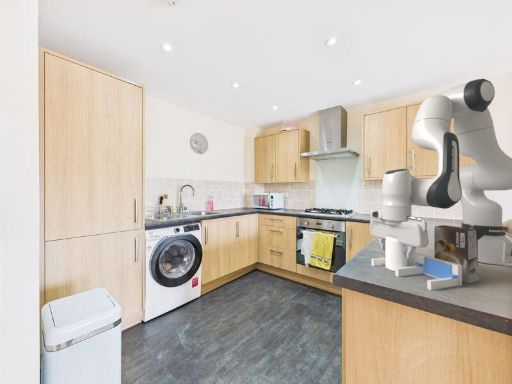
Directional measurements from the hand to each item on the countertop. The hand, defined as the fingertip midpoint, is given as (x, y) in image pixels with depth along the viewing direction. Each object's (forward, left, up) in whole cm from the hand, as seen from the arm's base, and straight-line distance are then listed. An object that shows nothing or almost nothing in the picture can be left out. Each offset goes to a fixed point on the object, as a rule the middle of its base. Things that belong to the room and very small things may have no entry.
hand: (395, 253), depth 76 cm
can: (0, 0, -6) cm, 6 cm away
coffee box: (-13, +10, -6) cm, 17 cm away
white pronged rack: (-1, +5, -6) cm, 8 cm away
